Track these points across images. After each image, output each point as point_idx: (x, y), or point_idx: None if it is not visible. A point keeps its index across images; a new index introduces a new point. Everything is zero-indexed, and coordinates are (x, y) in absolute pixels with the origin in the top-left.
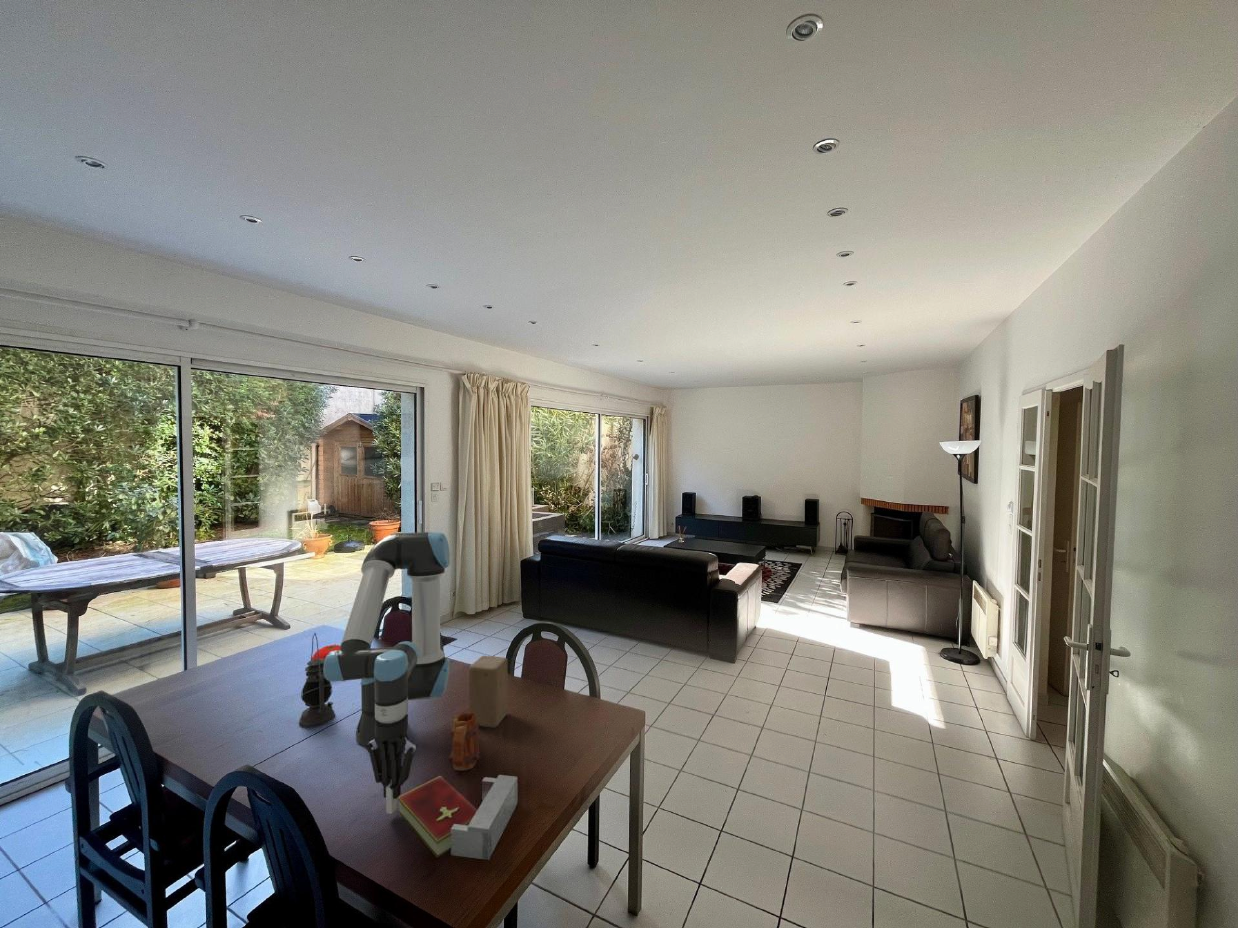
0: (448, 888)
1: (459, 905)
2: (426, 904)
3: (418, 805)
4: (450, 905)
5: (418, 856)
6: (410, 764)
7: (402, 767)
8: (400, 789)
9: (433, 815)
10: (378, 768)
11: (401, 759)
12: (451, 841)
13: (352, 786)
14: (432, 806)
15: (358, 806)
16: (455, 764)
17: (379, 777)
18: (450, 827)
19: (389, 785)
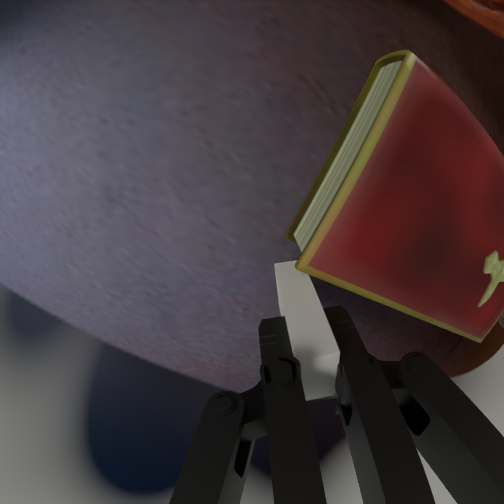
0: (478, 347)
1: (487, 353)
2: (454, 373)
3: (418, 275)
4: (479, 358)
5: (430, 335)
6: (488, 435)
7: (445, 476)
8: (355, 329)
9: (470, 291)
10: (236, 498)
11: (431, 494)
12: (499, 322)
13: (13, 197)
14: (462, 259)
15: (111, 267)
16: (478, 25)
17: (251, 451)
18: (502, 302)
19: (308, 388)
